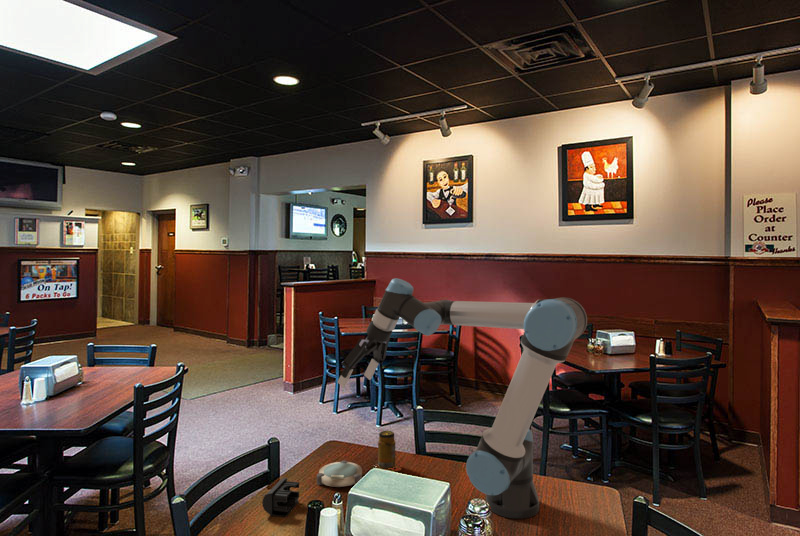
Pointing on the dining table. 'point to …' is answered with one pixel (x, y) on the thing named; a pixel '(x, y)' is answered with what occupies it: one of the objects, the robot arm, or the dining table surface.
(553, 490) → the dining table surface
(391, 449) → the condiment
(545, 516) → the dining table surface
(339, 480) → the base
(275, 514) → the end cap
